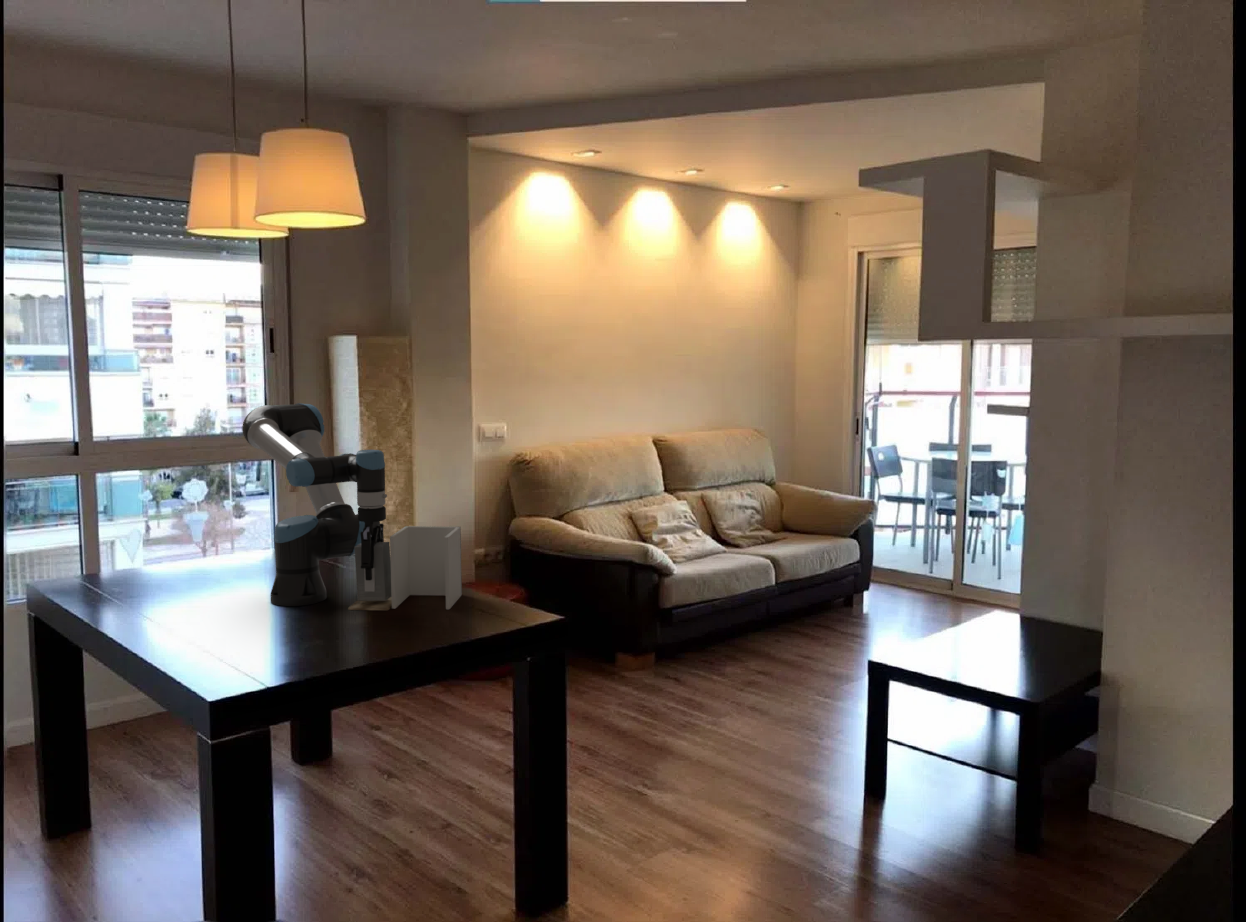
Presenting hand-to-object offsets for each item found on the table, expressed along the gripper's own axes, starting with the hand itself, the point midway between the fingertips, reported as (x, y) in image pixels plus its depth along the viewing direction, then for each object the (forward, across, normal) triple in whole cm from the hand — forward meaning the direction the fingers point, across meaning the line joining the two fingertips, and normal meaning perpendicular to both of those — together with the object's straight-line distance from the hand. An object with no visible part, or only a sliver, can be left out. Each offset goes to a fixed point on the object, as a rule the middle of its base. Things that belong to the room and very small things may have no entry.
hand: (374, 587), depth 280 cm
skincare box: (+3, 0, 0) cm, 3 cm away
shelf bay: (+5, +4, -14) cm, 15 cm away
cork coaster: (+5, 0, 0) cm, 5 cm away
